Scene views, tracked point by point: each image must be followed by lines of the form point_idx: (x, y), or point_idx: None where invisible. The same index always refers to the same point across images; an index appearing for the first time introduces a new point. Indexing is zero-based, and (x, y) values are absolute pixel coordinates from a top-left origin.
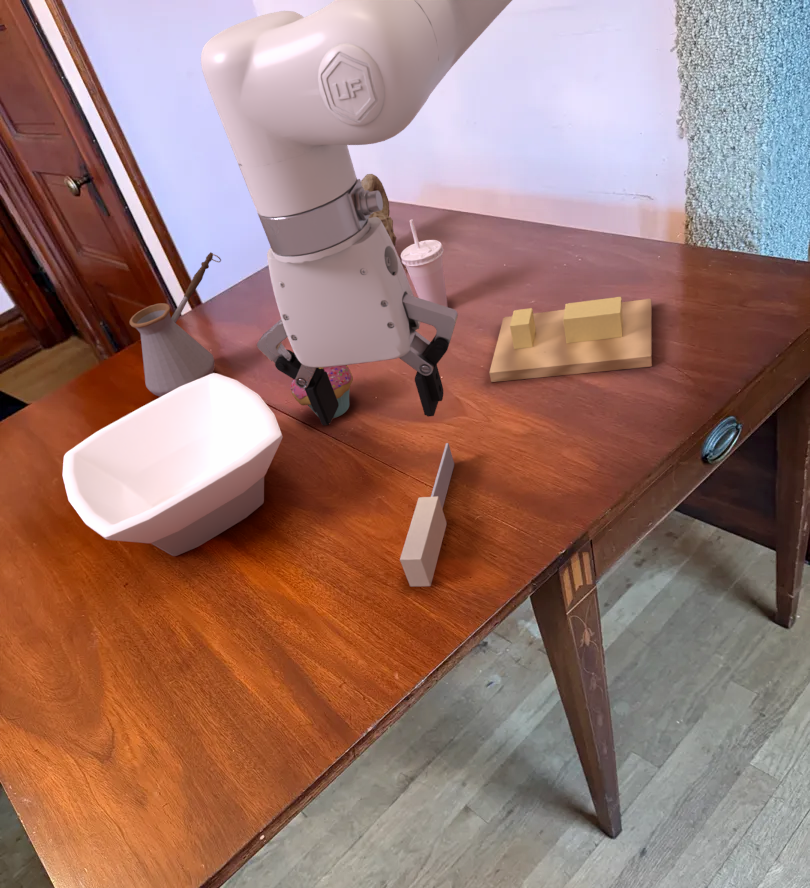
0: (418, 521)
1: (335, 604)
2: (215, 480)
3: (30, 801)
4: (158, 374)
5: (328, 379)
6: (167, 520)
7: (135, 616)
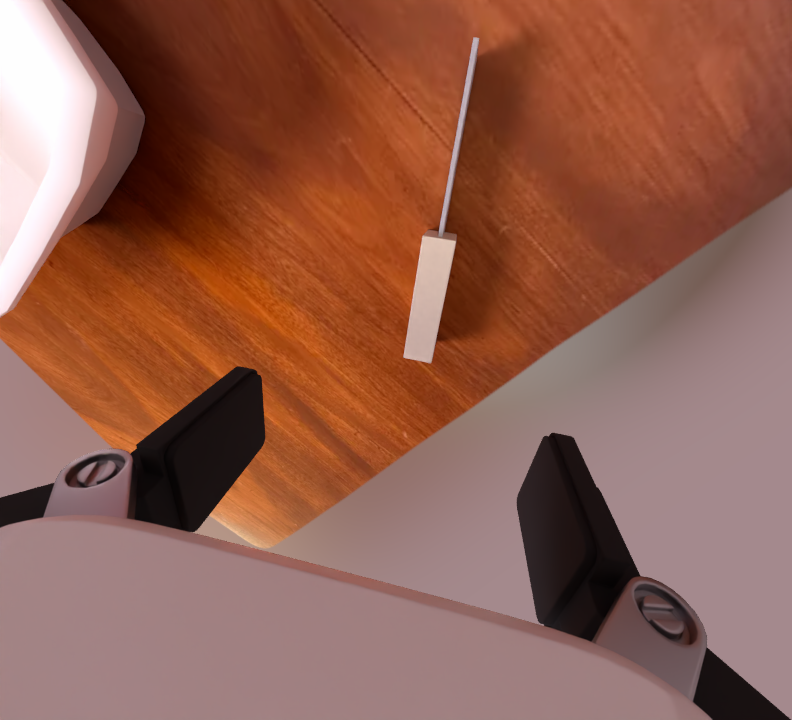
0: (425, 293)
1: (326, 345)
2: (50, 235)
3: None
4: None
5: (200, 432)
6: (33, 278)
7: (101, 316)
